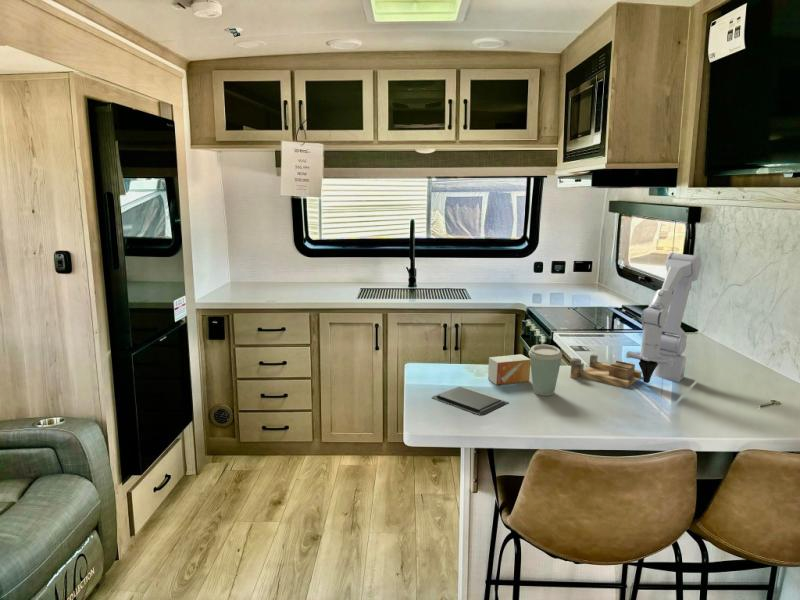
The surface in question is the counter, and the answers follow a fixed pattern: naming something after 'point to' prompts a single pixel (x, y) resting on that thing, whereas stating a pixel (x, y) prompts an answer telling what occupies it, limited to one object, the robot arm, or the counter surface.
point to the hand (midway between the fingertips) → (646, 381)
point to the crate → (622, 370)
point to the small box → (509, 369)
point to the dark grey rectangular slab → (470, 401)
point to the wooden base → (599, 372)
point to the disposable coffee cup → (544, 368)
